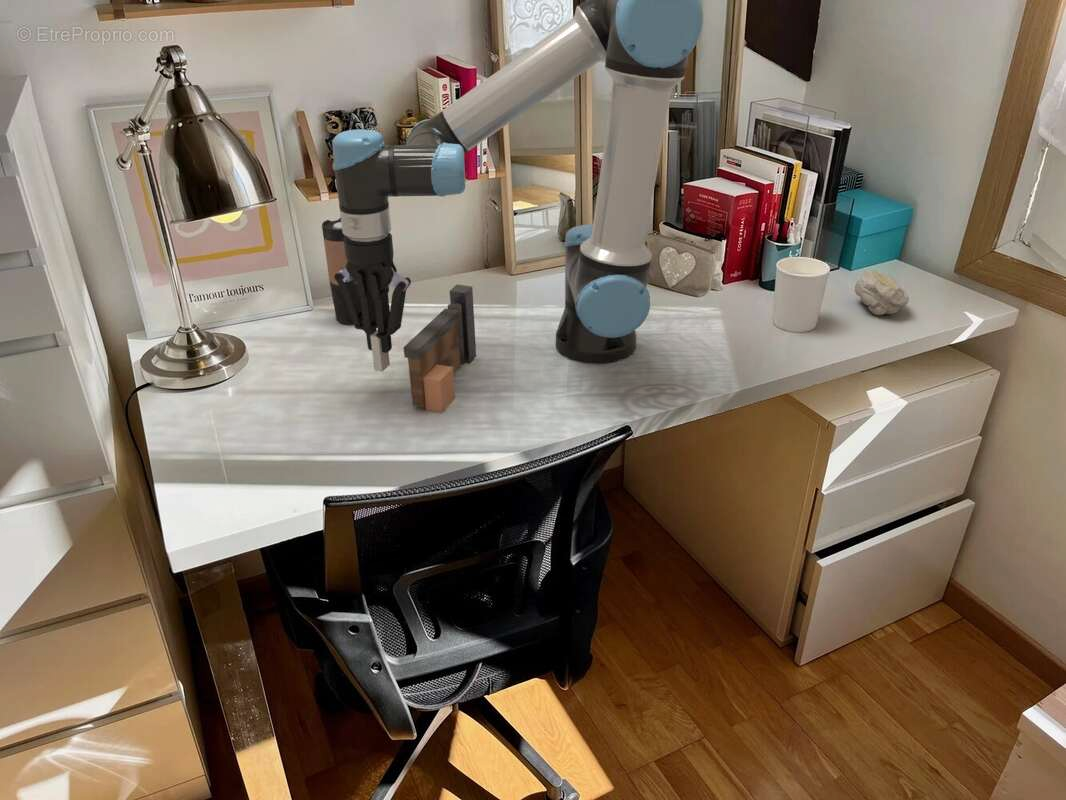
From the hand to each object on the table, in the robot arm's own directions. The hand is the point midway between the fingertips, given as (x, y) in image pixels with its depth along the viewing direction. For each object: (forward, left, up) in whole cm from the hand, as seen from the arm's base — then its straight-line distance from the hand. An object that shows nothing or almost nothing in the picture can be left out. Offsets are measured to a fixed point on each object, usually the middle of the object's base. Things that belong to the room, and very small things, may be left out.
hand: (382, 367), depth 145 cm
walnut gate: (-8, -5, -4) cm, 10 cm away
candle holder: (-63, -50, -5) cm, 81 cm away
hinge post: (-8, -15, -5) cm, 18 cm away
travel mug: (+21, -24, -5) cm, 32 cm away
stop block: (-11, +1, -5) cm, 12 cm away
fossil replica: (-78, -62, -5) cm, 100 cm away
